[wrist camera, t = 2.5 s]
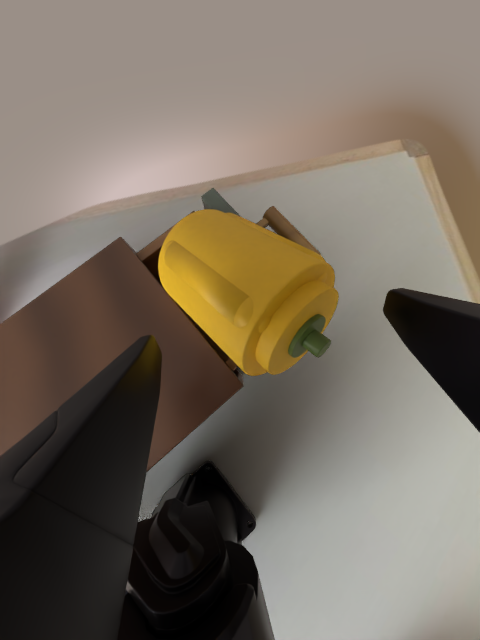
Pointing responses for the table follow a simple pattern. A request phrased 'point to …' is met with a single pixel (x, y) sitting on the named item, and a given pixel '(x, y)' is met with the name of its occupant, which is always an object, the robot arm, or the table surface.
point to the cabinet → (107, 349)
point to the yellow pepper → (249, 289)
